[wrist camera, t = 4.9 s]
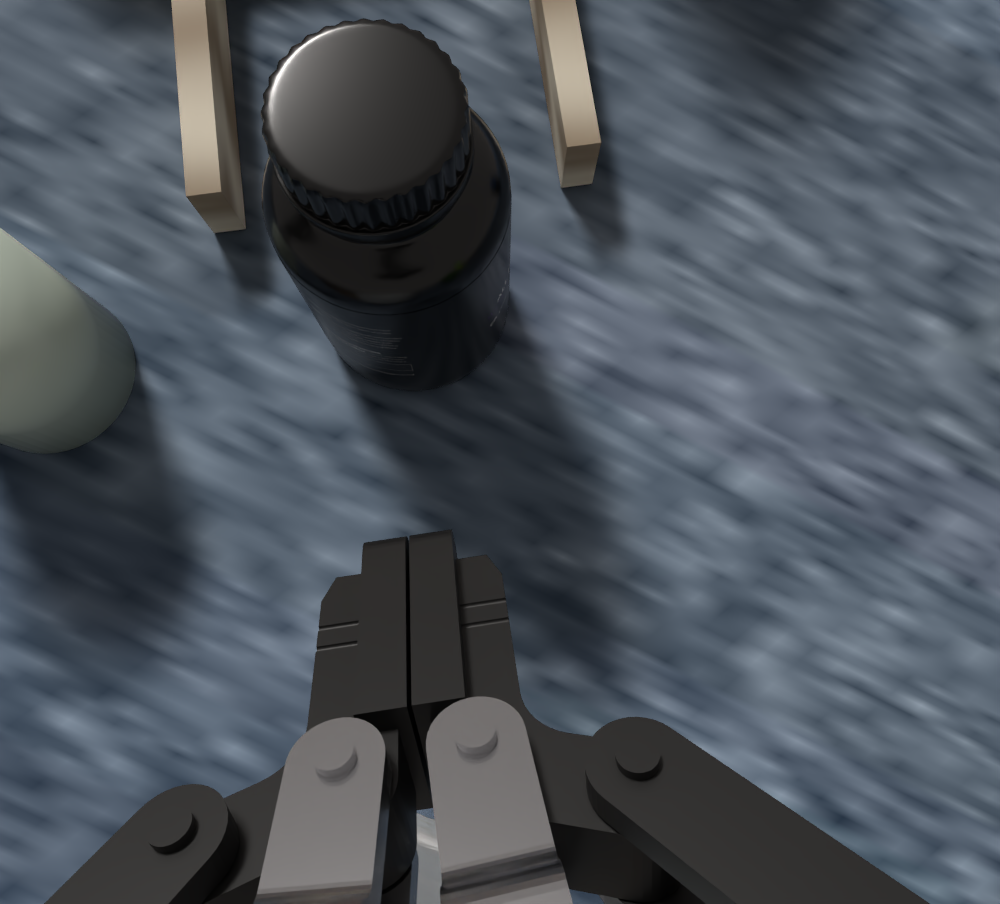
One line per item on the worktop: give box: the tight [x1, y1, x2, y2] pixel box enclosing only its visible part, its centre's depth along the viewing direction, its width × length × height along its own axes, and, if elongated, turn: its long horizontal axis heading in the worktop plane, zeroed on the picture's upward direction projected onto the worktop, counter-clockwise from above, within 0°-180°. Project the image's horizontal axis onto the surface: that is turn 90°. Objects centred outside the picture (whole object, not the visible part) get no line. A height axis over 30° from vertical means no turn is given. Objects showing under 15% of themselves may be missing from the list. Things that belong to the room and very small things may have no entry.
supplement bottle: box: [261, 18, 511, 391], centre depth 24 cm, size 7×7×12 cm
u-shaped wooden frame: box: [171, 0, 601, 233], centre depth 31 cm, size 13×14×3 cm
